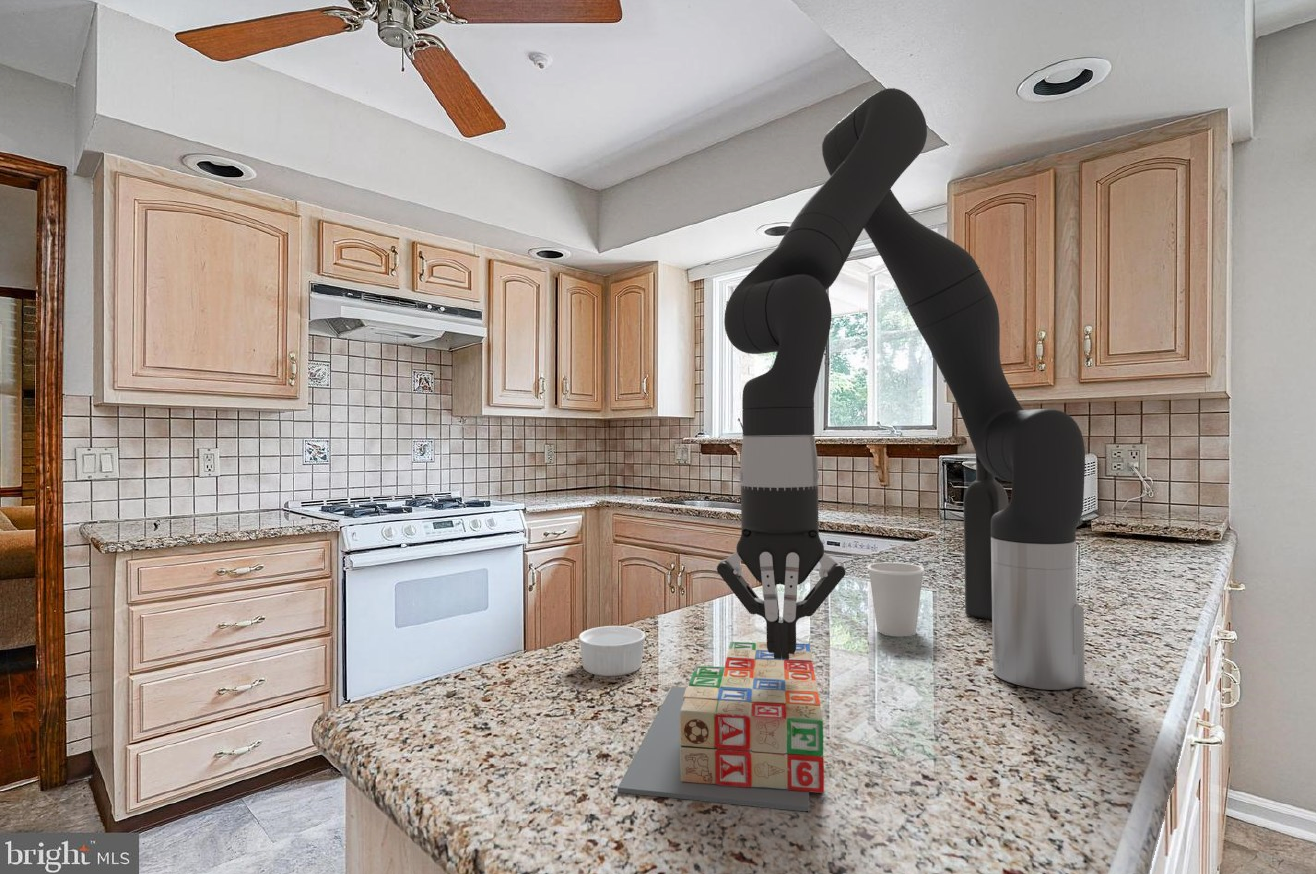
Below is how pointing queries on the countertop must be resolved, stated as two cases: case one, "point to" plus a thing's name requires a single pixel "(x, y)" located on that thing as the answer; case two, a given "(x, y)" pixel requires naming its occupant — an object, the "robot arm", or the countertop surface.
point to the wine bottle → (980, 540)
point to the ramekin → (612, 650)
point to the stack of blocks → (754, 722)
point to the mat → (661, 769)
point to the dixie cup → (896, 596)
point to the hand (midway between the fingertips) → (781, 657)
